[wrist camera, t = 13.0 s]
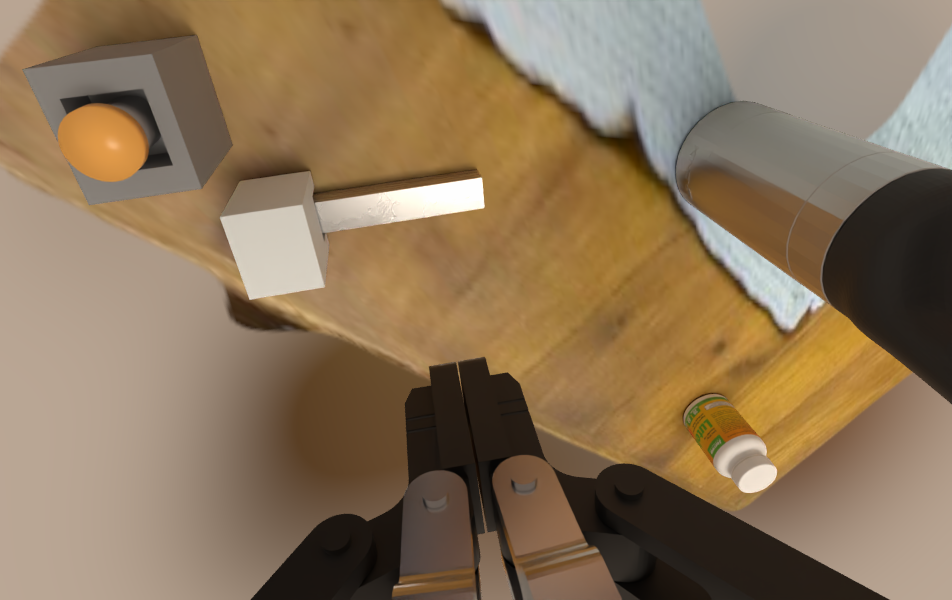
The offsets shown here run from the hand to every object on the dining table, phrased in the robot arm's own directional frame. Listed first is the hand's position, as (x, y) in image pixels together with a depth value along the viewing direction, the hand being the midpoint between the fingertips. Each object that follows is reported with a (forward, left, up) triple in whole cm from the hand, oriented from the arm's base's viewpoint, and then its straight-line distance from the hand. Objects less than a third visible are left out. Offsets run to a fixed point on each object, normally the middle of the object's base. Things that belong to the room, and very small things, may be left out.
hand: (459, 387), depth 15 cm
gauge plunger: (+14, -3, -23) cm, 28 cm away
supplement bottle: (-29, +36, -30) cm, 54 cm away
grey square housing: (+14, -3, -30) cm, 33 cm away
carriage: (+9, +6, -30) cm, 32 cm away
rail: (+3, +6, -30) cm, 30 cm away
